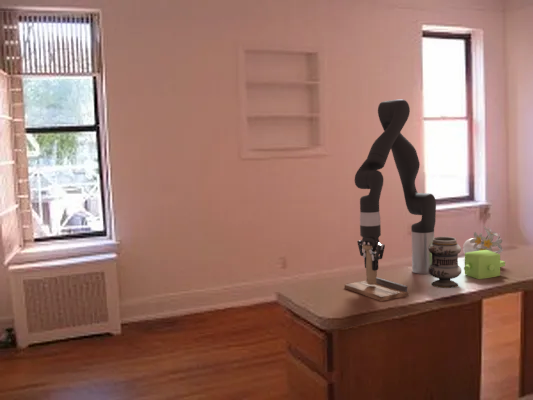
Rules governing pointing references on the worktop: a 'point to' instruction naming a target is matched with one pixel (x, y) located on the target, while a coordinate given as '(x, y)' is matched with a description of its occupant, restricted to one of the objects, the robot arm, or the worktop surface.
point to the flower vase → (482, 242)
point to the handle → (370, 266)
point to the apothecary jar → (444, 261)
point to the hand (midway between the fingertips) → (371, 268)
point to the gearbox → (483, 264)
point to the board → (379, 289)
